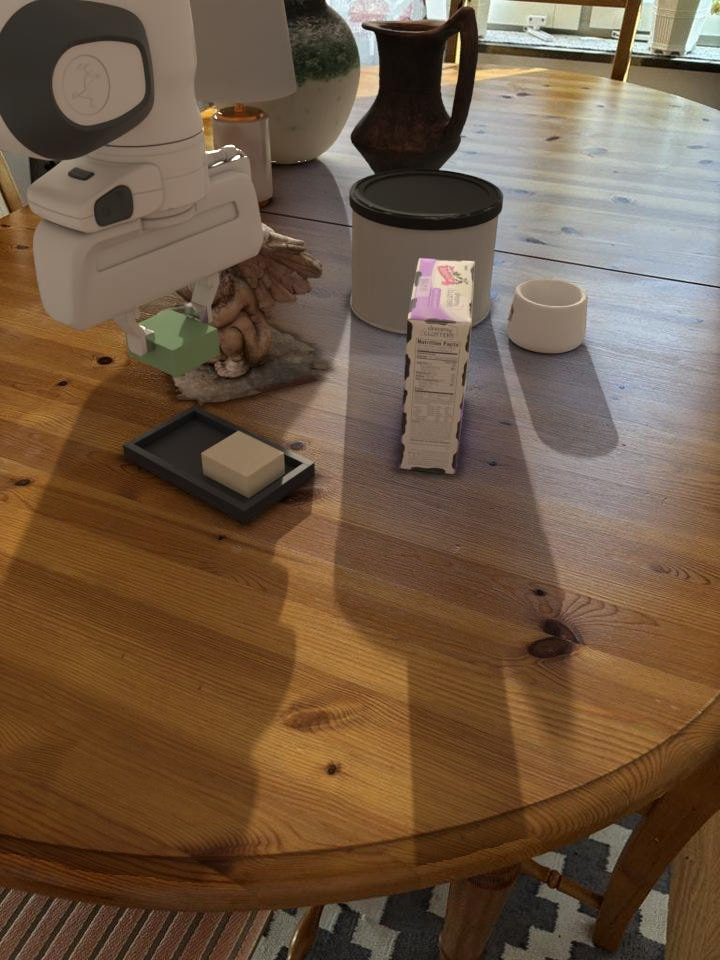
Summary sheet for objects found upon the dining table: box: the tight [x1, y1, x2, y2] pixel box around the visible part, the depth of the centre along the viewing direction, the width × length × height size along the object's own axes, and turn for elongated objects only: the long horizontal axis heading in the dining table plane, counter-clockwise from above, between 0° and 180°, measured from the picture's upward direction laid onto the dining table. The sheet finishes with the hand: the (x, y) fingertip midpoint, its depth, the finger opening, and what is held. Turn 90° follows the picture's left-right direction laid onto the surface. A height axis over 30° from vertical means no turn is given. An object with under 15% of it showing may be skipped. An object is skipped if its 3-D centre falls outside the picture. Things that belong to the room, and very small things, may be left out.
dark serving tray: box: [122, 404, 316, 525], centre depth 84 cm, size 10×17×2 cm, turn 52°
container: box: [348, 169, 504, 335], centre depth 110 cm, size 19×19×15 cm
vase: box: [213, 0, 361, 165], centre depth 158 cm, size 28×28×30 cm
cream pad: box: [201, 431, 285, 498], centre depth 81 cm, size 5×6×2 cm
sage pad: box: [124, 309, 220, 377], centre depth 73 cm, size 5×6×2 cm
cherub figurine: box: [156, 222, 329, 407], centre depth 96 cm, size 18×18×18 cm
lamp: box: [189, 0, 297, 209], centre depth 136 cm, size 19×19×34 cm
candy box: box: [398, 258, 475, 475], centre depth 84 cm, size 14×6×16 cm, turn 172°
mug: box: [505, 278, 589, 354], centre depth 106 cm, size 12×10×6 cm
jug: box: [350, 5, 479, 174], centre depth 140 cm, size 21×18×30 cm
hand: (171, 337), depth 72 cm, fingers closed on sage pad, 5 cm apart
